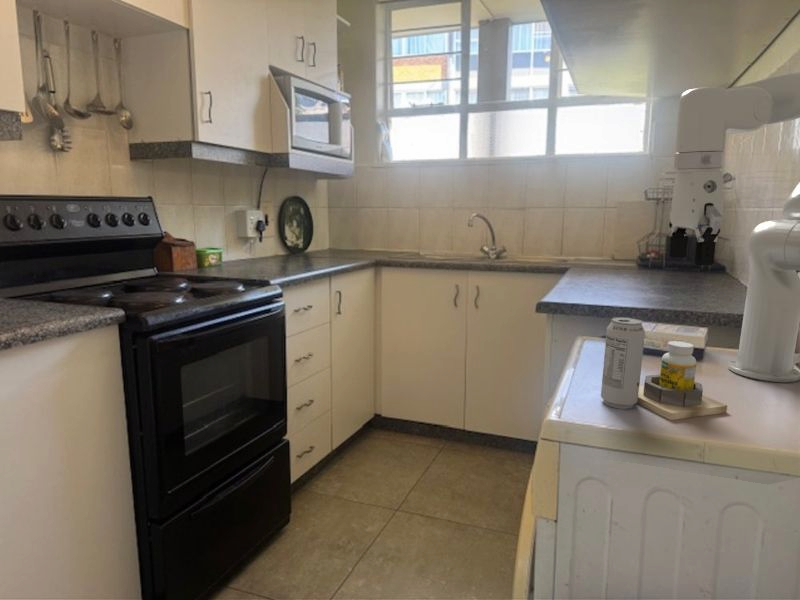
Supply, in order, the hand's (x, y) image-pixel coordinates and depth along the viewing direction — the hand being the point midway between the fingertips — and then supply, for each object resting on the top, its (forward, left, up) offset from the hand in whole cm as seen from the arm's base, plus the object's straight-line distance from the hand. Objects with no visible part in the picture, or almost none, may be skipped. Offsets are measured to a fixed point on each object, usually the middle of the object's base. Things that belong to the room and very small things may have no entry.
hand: (689, 260), depth 98 cm
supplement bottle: (+6, +6, -23) cm, 25 cm away
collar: (+6, +6, -24) cm, 26 cm away
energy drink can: (+15, +3, -25) cm, 29 cm away
